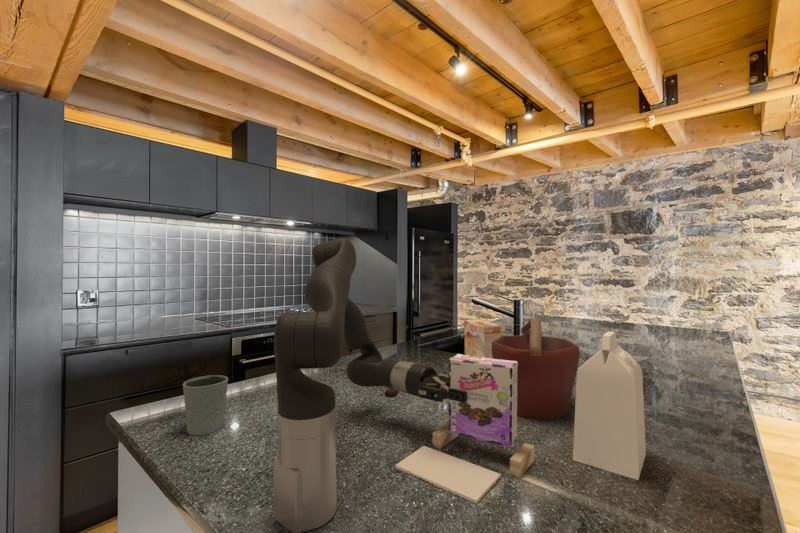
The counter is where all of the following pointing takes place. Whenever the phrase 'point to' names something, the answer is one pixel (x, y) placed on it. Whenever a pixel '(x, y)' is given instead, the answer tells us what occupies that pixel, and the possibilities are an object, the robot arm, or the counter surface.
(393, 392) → the cleaver
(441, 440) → the block
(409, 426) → the counter surface
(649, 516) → the counter surface
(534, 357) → the bucket
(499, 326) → the coffeecake box
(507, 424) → the candy box
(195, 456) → the counter surface
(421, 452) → the board
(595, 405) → the milk
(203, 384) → the green cup
